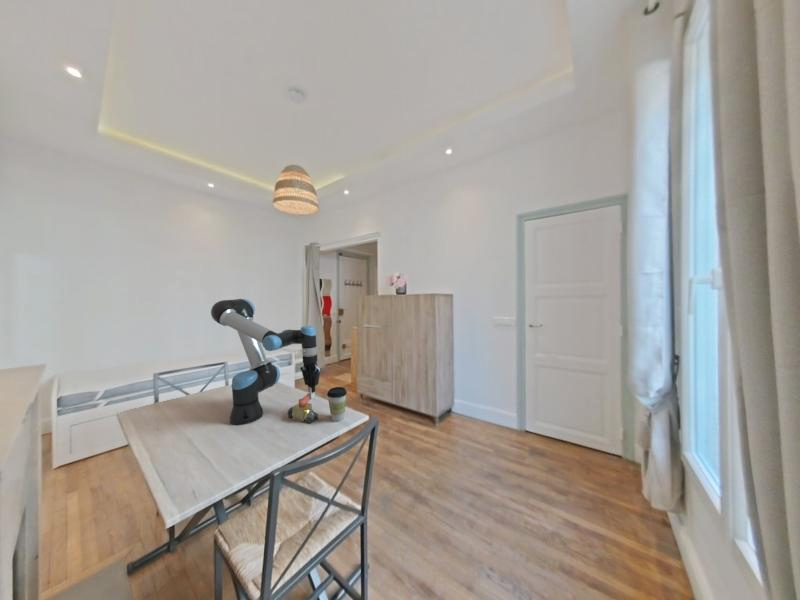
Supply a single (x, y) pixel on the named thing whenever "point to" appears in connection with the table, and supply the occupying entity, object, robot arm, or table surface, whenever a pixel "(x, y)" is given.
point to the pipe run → (303, 413)
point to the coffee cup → (337, 403)
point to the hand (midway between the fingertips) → (312, 397)
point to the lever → (304, 400)
